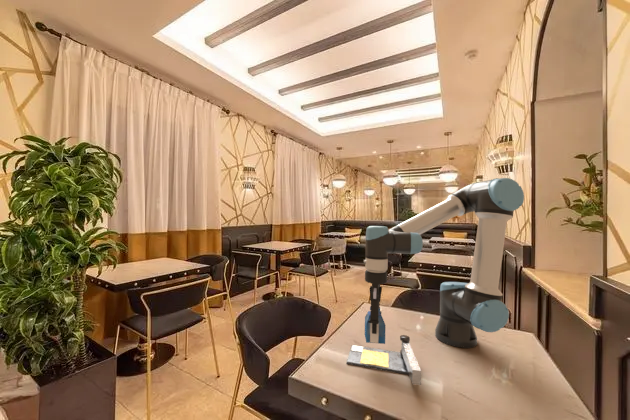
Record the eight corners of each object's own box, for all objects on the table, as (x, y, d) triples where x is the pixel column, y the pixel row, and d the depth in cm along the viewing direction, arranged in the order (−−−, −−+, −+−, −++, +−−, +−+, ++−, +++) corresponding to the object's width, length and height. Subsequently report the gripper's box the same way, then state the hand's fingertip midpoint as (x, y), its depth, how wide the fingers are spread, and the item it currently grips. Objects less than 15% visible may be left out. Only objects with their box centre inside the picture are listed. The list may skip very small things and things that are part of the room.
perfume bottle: (382, 335, 93) (382, 301, 93) (385, 343, 86) (385, 307, 87) (364, 334, 93) (365, 300, 94) (366, 342, 87) (366, 306, 87)
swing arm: (399, 348, 94) (399, 334, 94) (408, 349, 93) (408, 335, 93) (410, 384, 74) (411, 366, 74) (422, 385, 73) (422, 367, 73)
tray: (413, 356, 93) (413, 350, 93) (416, 376, 81) (416, 369, 81) (351, 346, 99) (351, 341, 99) (346, 363, 87) (346, 357, 87)
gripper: (367, 264, 101) (366, 324, 100) (362, 275, 82) (360, 349, 81) (387, 266, 99) (386, 327, 98) (387, 277, 80) (385, 353, 79)
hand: (374, 337), depth 90 cm, fingers closed on perfume bottle, 7 cm apart
